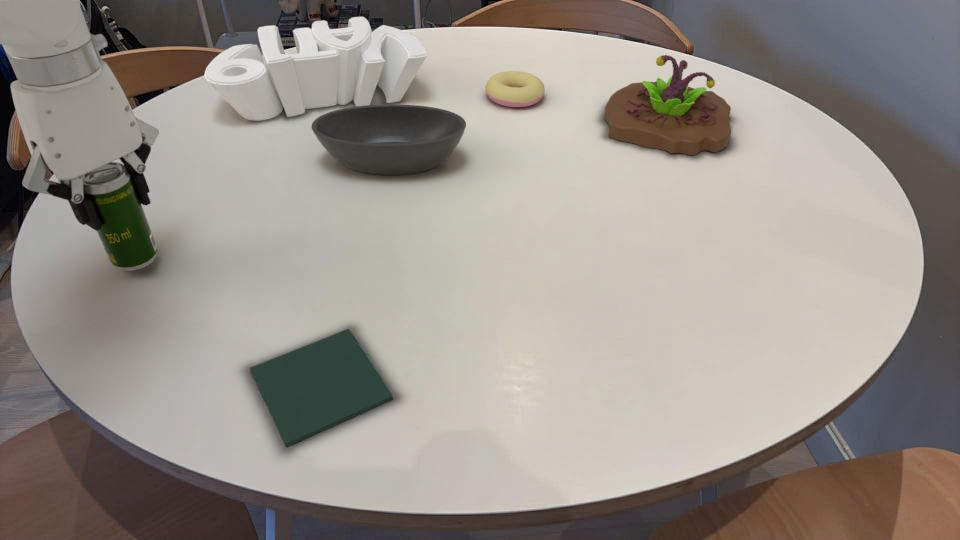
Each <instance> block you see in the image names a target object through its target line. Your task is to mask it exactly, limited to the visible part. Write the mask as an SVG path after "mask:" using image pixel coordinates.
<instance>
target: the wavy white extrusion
mask: <svg viewBox="0 0 960 540" xmlns="http://www.w3.org/2000/svg"><path fill="white" fill-rule="evenodd" d="M347 23H348V24H347V27H341V28H339V27H338V28H330V27H329V24H328V21H326V20H316V21H313V22H312V23H311V28H310V27H298V28H294V29H293V30H292V34H293V39H294V44H295V48H296V53H285V49H284V46H283V41H282V38H281V34H280V31H279V28H278V27H279V26H276V25H275V24H274V25H273V24H272V25H264V26H259V27H258V28H257V37H258V41H259V45H260V48H259V45H258V44H253V43H246V44H245V43H244V44H237V45H233V46H230V47H229V48H226V49H225V50H223V51H221V53H219V54H217V56H215V57H214V58H213V59H211V61H210V62H209V63H208V65H207V66H206V68H205V70H204V75H203V77H204V79H205V80H206V81H207V83H209V84H210V86H211V87H213V89H214V90H216V92H217V93H218V94H219V95H220V96H222V98H223V99H224V100H225V101H226V102H227V103H228V104H229V105H230V106H231V107H232V108H233V109H234V110H235V111H236V112H237V113H238V115H239V116H240V117H242V118H243V119H245V120H248V121H251V122H252V121H253V122H258V121H268V120H271V119H273V118H275V117H277V116H279V115H280V114H281V113H282V112H283V110H284V113H285V114H286V117H287V118H290V117H291V118H292V117H296V116H300V115H303V114H305V113H306V110H311V109H319V108H320V109H321V108H327V107H334V106H337V105H341V106H346V105H348V104H349V103H351V102H353V103H354V106H355V107H356V106H366V105H371V103H372V100H373V97H374V95H375V92H376V88H377V86H378V87H379V88H380V89H381V91H382V92H383V94H384V96H385V100H386V104H393V103H398V102H401V101H402V99H403V97H404V96H405V94H406V92H407V91H408V90H409V87H410V86H411V84H412V82H413V81H414V79H415V78H416V77H417V74H418V73H419V71H420V69H421V67H422V65H423V64H424V62H425V61H426V59H427V57H428V53H427V49H426V47H425V46H424V44H423V43H422V42H421V41H420V39H418V38H416V37H415V36H414V35H412V34H411V33H409V32H407V31H404V30H402V29H400V28H396V27H393V26H390V25H385V24H382V25H380V26H379V27H377V28H376V29H374V30H372V28H371V25H370V22H369V20H368V19H367V18H366V17H364V16H354V17H350V18H349V19H348V22H347ZM260 49H261V50H260Z"/></svg>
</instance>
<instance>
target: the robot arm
mask: <svg viewBox="0 0 960 540" xmlns="http://www.w3.org/2000/svg"><path fill="white" fill-rule="evenodd" d="M80 1H81V0H0V45H1V46H2V47H3V50H4V52H5V54H6V57H7V59H8V61H9V63H10V65H11V67H12V70H13V72H14V74H15V76H16V80H14V81H12V82H11V83H10V93H11V97H12V101H13V105H14V109H15V113H16V116H17V120H18V122H19V126H20V128H21V131H22V134H23V138H24V140H25V143H26V145H27V148H28V150H29V153H30V155H31V157H30V159H29V160H30V161H29V163H28V165H27V168H26V170H25V173H24V176H23V179H22V182H21V185H22V186H23V187H24V188H26V189H27V190H29V191H31V192H34V193H35V192H36V193H40V194H44V195H51V196H53V197H56V198H58V199H62V200H66V201H67V202H68V203H69V206H70V208H71V210H72V213H73V215H74V217H75V218H76V220H77V222H78V223H79V224H81V225H83V226H85V225H86V226H88V227H89V228H91V229H92V230H94V231H96V232H97V231H98V230H100V229H101V227H102V225H101V222H100V220H99V217H98V215H97V213H96V210H95V208H94V206H93V203H92V201H91V200H90V199H89V198H87V197H86V196H84V191H83V174H85V173H88V172H90V171H92V170H94V169H97V168H99V167H101V166H103V165H106V164H108V163H110V162H115V161H116V160H119V162H121V164H123V165H124V166H125V169H126V171H127V172H128V173H129V174H130V176H131V178H132V181H133V184H134V186H135V189H136V192H137V194H138V197H139V200H140V202H141V205H142V206H148V205H150V204H151V203H152V202H151V199H150V196H149V193H150V192H151V191H150V187H149V185H148V182H147V180H146V176H145V174H144V173H145V172H146V170H147V165H146V163H147V160H148V158H149V156H150V154H151V151H152V146H153V145H154V144H155V141H156V140H157V138H158V136H159V134H160V131H159V129H158V128H156V127H154V126H153V125H151V124H149V123H147V122H145V121H143V120H141V119H140V118H137V117H136V115H135V113H134V111H133V109H132V107H131V104H130V102H129V99H128V98H127V96H126V94H125V92H124V90H123V88H122V87H121V84H120V83H119V81H118V79H117V78H116V75H115V74H114V72H113V71H112V69H111V68H110V66H109V65H108V63H107V62H106V61H104V60H103V59H102V57H101V54H100V51H102V49H104V48H107V47H108V44H109V43H108V41H107V39H106V37H105V36H104V35H103V34H102V33H98V34H92V33H91V32H90V30H89V26H88V24H87V21H86V18H85V16H84V13H83V10H82V7H81V2H80ZM48 170H50V171H51V172H52V173H53V175H54V176H55V178H56V179H57V182H56V181H53V180H49V179H48V180H46V179H45V175H46V173H47V171H48Z"/></svg>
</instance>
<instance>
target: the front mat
mask: <svg viewBox="0 0 960 540" xmlns="http://www.w3.org/2000/svg"><path fill="white" fill-rule="evenodd" d="M249 370H250V373H251V375H252V377H253V379H254V381H255V383H256V386H257V387H258V390H259V392H260V394H261V396H262V398H263V400H264V402H265V404H266V407H267V409H268V411H269V413H270V415H271V417H272V420H273V422H274V424H275V426H276V428H277V430H278V432H279V434H280V436H281V439H282V441H283V443H284V445H285V447H286V448H287V447H290V446H292V445H294V444H296V443H299V442H301V441H303V440H306V439H308V438H309V437H312V436H314V435H316V434H319V433H321V432H324V431H326V430H327V429H330V428H332V427H334V426H337V425H339V424H341V423H343V422H345V421H347V420H350V419H352V418H354V417H357V416H358V415H361V414H363V413H365V412H367V411H370V410H372V409H373V408H374V409H375V408H376V407H378V406H380V405H383V404H385V403H387V402H389V401H392V400H393V399H394V396H393V394H392V393H391V391H390V390H389V388H388V386H387V385H386V384H385V382H384V381H383V379H382V377H381V376H380V374H379V373H378V371H377V369H376V368H375V366H374V365H373V364H372V362H371V360H370V359H369V357H368V356H367V354H366V353H365V351H364V350H363V348H362V347H361V345H360V344H359V342H358V340H357V339H356V337H355V336H354V335H353V333H352V331H351V330H350V329H349V328H346V329H344V330H342V331H339V332H337V333H334V334H332V335H329V336H326V337H324V338H321V339H318V340H317V341H314V342H311V343H309V344H307V345H304V346H301V347H299V348H296V349H294V350H292V351H289V352H286V353H284V354H281V355H279V356H276V357H274V358H272V359H269V360H267V361H266V360H265V361H264V362H261V363H258V364H256V365H253V366H251V367H250V368H249Z"/></svg>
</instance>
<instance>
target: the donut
mask: <svg viewBox="0 0 960 540" xmlns="http://www.w3.org/2000/svg"><path fill="white" fill-rule="evenodd" d="M545 92H546V89H545V84H544V82H543V81H542V80H541V79H540V78H539V77H537V76H536V75H534V74H531V73H528V72H525V71H519V70H518V71H517V70H509V71H501V72H498V73H496V74H493V75H492V76H491V77H489V79H488V80H487V82H486V84H485V94H486V95H487V97H488V98H489V99H490V100H491V101H492V102H494V103H496V104H498V105H500V106H502V107H503V106H504V107H509V108H525V107H531V106H533V105H535V104H537V103H539V102H540V101H541V100H542V99H543V97H544V96H545Z"/></svg>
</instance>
